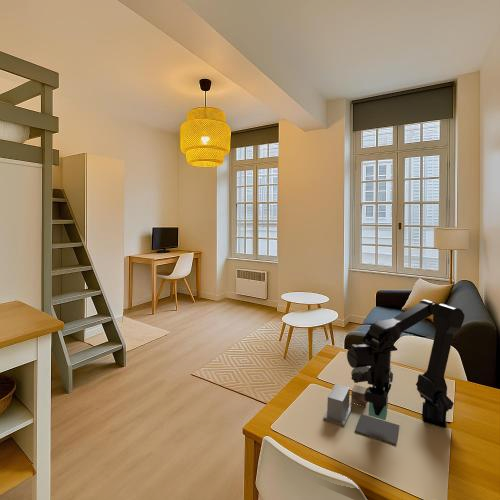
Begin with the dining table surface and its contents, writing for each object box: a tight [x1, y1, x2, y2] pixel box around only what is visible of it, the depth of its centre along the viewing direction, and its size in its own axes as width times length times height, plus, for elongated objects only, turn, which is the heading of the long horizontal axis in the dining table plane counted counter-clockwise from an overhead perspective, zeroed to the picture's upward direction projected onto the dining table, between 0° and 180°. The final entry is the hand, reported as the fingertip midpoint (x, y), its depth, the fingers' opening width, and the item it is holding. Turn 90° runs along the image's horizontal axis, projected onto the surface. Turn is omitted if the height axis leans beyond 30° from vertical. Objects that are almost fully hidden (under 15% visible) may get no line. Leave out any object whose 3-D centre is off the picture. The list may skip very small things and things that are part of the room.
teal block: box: [368, 400, 389, 421], centre depth 101 cm, size 5×5×5 cm
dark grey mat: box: [354, 413, 400, 446], centre depth 102 cm, size 12×10×1 cm
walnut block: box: [350, 384, 368, 408], centre depth 117 cm, size 5×5×5 cm
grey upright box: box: [322, 383, 353, 427], centre depth 110 cm, size 7×12×8 cm, turn 150°
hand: (378, 410), depth 101 cm, fingers closed on teal block, 5 cm apart
